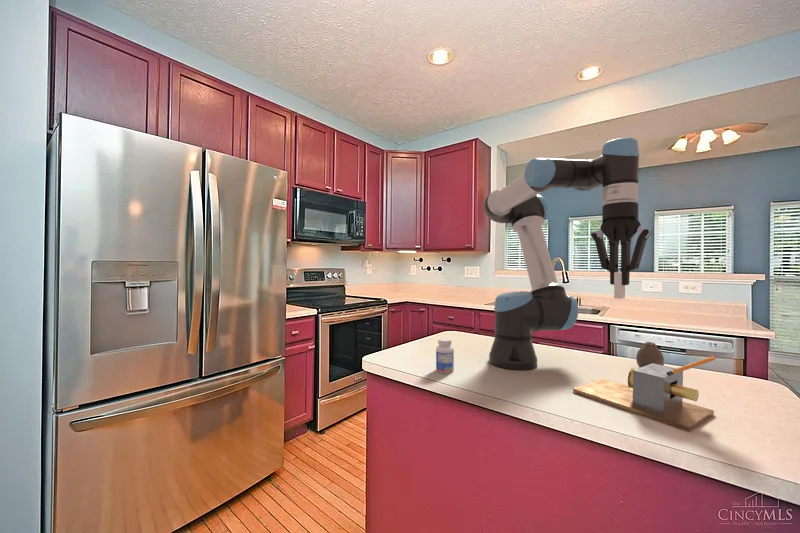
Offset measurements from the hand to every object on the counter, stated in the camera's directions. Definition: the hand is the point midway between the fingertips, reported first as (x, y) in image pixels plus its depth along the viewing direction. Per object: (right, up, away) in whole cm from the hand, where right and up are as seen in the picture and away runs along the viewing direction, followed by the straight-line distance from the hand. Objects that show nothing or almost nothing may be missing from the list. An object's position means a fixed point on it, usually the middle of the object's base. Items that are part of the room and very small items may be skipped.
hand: (619, 298), depth 85 cm
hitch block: (+2, -25, -3) cm, 25 cm away
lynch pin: (+5, -22, -7) cm, 24 cm away
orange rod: (+8, -13, -12) cm, 20 cm away
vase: (+22, -25, +20) cm, 39 cm away
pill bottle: (-41, -25, +21) cm, 52 cm away
